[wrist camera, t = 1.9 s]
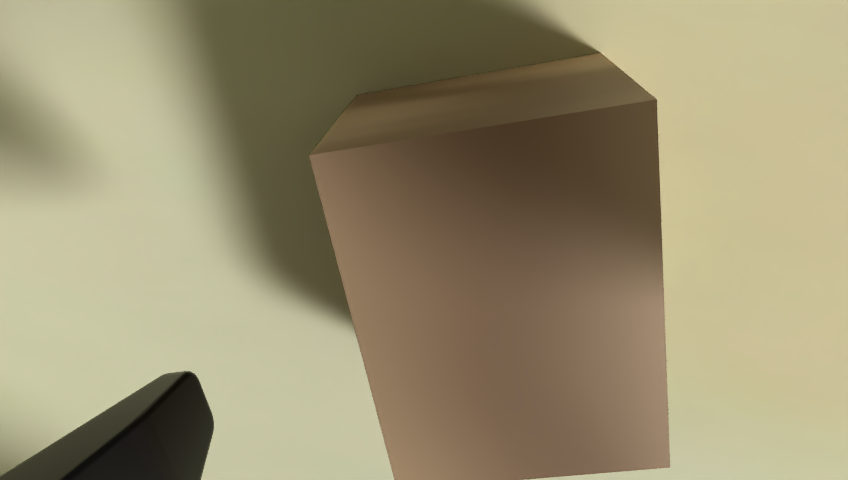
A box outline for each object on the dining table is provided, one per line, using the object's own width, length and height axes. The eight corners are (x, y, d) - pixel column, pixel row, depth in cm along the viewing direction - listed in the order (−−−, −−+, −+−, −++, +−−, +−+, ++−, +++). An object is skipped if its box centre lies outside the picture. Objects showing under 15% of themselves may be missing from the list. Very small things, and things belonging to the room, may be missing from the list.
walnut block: (416, 354, 15) (397, 489, 11) (358, 93, 12) (308, 155, 9) (618, 331, 14) (669, 467, 10) (599, 51, 12) (656, 100, 8)
